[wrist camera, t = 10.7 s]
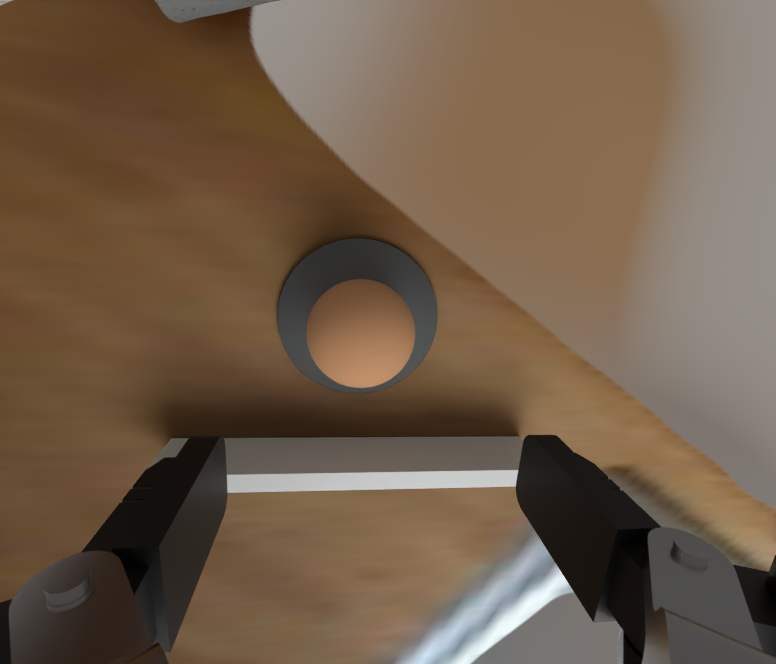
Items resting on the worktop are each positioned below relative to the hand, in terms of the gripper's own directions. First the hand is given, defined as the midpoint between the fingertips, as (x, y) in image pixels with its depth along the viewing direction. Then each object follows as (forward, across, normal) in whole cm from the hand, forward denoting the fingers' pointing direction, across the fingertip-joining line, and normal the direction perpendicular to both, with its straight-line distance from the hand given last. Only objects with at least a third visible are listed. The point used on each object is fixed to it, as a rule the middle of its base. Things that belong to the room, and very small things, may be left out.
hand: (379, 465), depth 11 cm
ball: (+12, 0, 0) cm, 12 cm away
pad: (+15, 0, 0) cm, 15 cm away
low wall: (+15, 0, +9) cm, 18 cm away
